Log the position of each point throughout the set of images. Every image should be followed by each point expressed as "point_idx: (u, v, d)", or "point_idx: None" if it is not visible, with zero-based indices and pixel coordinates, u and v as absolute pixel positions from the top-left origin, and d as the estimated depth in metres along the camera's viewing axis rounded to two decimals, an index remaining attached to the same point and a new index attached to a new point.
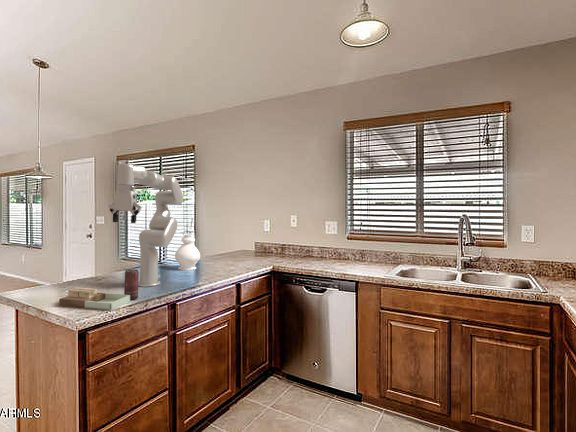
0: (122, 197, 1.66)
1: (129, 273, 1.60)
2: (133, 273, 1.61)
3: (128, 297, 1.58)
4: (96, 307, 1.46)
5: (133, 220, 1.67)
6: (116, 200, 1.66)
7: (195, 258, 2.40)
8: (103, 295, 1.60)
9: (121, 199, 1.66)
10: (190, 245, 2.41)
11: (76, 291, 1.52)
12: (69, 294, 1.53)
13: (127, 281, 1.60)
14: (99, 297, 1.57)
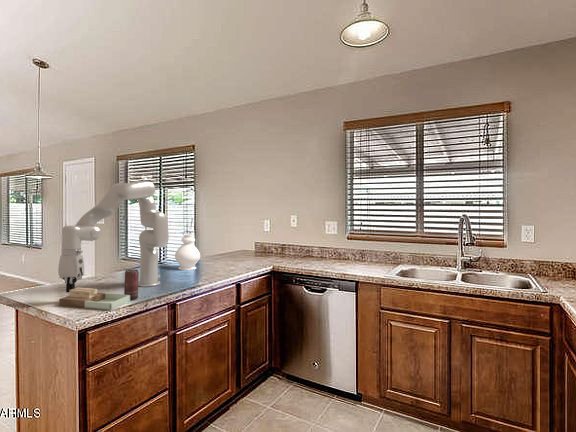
0: (67, 263, 1.53)
1: (129, 273, 1.60)
2: (133, 273, 1.61)
3: (128, 297, 1.58)
4: (96, 307, 1.46)
5: None
6: (61, 265, 1.53)
7: (195, 258, 2.40)
8: (103, 295, 1.60)
9: (66, 265, 1.53)
10: (190, 245, 2.41)
11: (77, 291, 1.52)
12: (70, 294, 1.53)
13: (127, 281, 1.60)
14: (99, 297, 1.57)
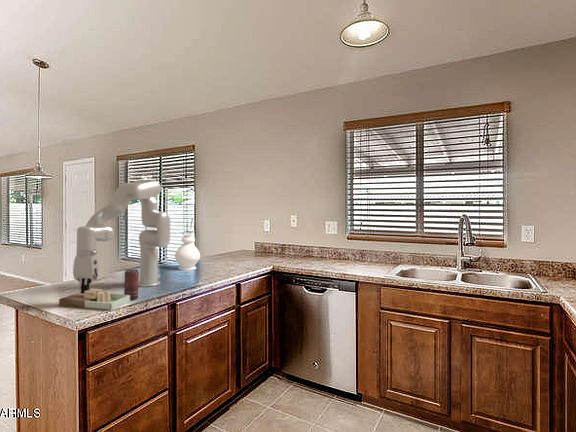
0: (82, 264, 1.52)
1: (129, 273, 1.60)
2: (133, 273, 1.61)
3: (128, 297, 1.58)
4: (96, 307, 1.46)
5: (85, 290, 1.53)
6: (75, 266, 1.52)
7: (196, 258, 2.40)
8: None
9: (80, 266, 1.52)
10: (190, 245, 2.41)
11: (92, 292, 1.51)
12: (85, 295, 1.51)
13: (127, 281, 1.60)
14: None
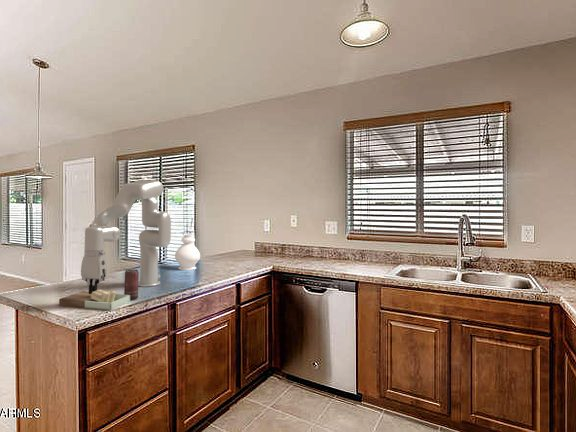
0: (90, 264, 1.51)
1: (129, 273, 1.60)
2: (133, 273, 1.61)
3: (128, 297, 1.58)
4: (96, 307, 1.46)
5: (93, 291, 1.53)
6: (83, 267, 1.52)
7: (195, 258, 2.40)
8: None
9: (88, 266, 1.51)
10: (190, 245, 2.41)
11: (99, 295, 1.51)
12: (92, 296, 1.51)
13: (127, 281, 1.60)
14: None
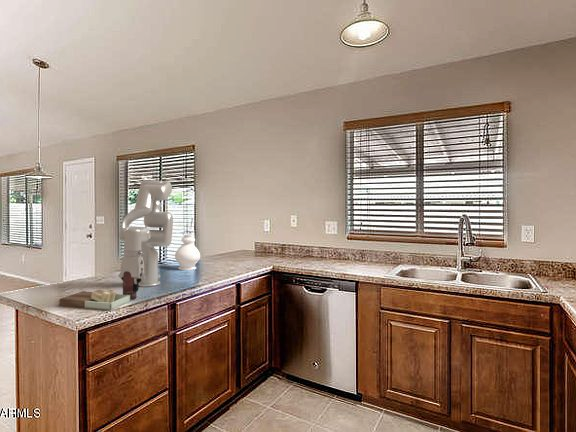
0: (129, 263, 1.60)
1: (127, 273, 1.60)
2: None
3: (128, 297, 1.58)
4: (96, 307, 1.46)
5: (135, 289, 1.62)
6: (123, 266, 1.61)
7: (196, 258, 2.40)
8: None
9: (128, 266, 1.60)
10: (190, 245, 2.41)
11: (100, 295, 1.51)
12: (92, 296, 1.51)
13: (125, 281, 1.60)
14: None
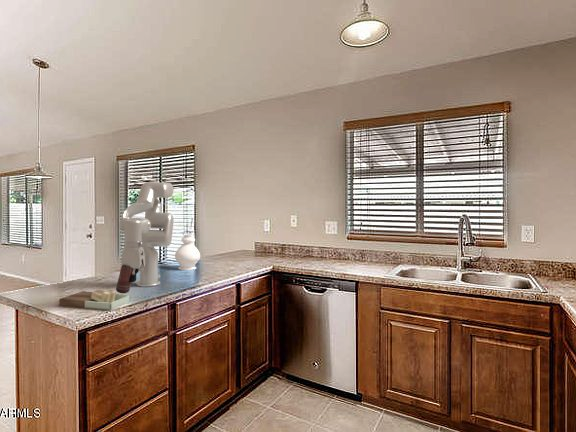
0: (130, 255, 1.61)
1: (124, 268, 1.60)
2: (128, 269, 1.61)
3: (128, 297, 1.58)
4: (96, 307, 1.46)
5: (133, 279, 1.63)
6: (124, 257, 1.62)
7: (196, 258, 2.40)
8: None
9: (129, 257, 1.61)
10: (190, 245, 2.41)
11: (100, 295, 1.51)
12: (92, 296, 1.51)
13: (121, 275, 1.61)
14: None
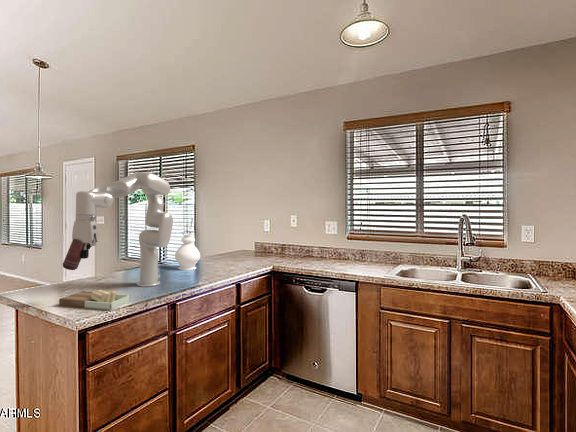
0: (81, 228, 1.51)
1: (75, 242, 1.51)
2: (79, 244, 1.51)
3: (128, 297, 1.58)
4: (96, 307, 1.46)
5: (85, 255, 1.53)
6: (75, 231, 1.52)
7: (196, 258, 2.40)
8: None
9: (80, 230, 1.51)
10: (190, 245, 2.41)
11: (100, 295, 1.51)
12: (92, 296, 1.51)
13: (70, 249, 1.51)
14: None
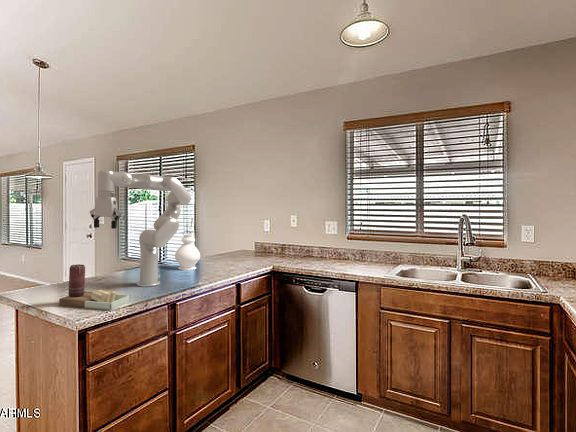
0: (102, 203, 1.69)
1: (72, 268, 1.51)
2: (76, 269, 1.51)
3: (128, 297, 1.58)
4: (96, 307, 1.46)
5: (113, 225, 1.70)
6: (97, 206, 1.70)
7: (196, 258, 2.40)
8: None
9: (101, 205, 1.69)
10: (190, 245, 2.41)
11: (100, 295, 1.51)
12: (92, 296, 1.51)
13: (70, 277, 1.51)
14: None
